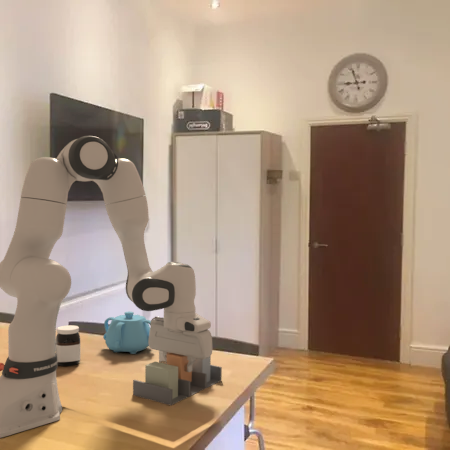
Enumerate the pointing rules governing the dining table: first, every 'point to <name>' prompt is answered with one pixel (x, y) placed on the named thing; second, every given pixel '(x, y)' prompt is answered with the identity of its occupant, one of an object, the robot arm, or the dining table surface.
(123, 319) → the decorative pot
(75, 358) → the spread jar
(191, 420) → the dining table surface
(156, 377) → the sage block
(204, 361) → the blue-grey block
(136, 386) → the slot rack
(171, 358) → the terracotta plug
